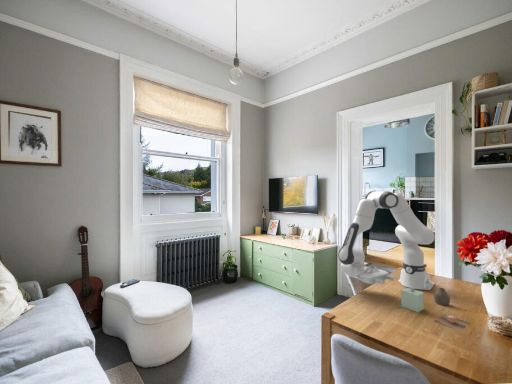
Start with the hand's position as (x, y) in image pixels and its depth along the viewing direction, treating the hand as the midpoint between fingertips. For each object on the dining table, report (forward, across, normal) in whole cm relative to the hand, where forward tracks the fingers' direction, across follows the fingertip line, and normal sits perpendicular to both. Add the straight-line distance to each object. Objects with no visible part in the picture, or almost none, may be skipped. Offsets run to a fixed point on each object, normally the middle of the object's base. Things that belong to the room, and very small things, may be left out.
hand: (388, 280), depth 139 cm
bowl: (+29, +1, +10) cm, 31 cm away
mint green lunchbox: (+12, +1, +11) cm, 16 cm away
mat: (+12, +1, +11) cm, 17 cm away
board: (+29, +1, +11) cm, 31 cm away
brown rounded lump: (+18, +20, +11) cm, 29 cm away
